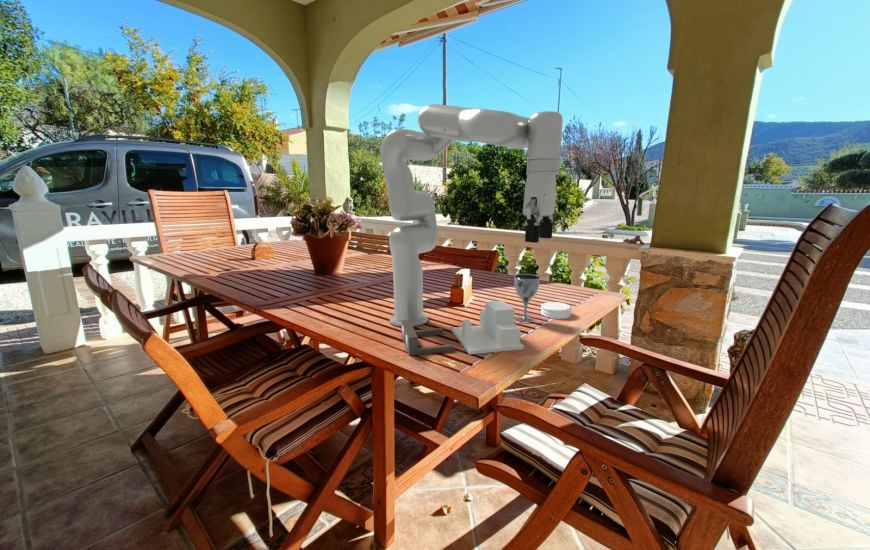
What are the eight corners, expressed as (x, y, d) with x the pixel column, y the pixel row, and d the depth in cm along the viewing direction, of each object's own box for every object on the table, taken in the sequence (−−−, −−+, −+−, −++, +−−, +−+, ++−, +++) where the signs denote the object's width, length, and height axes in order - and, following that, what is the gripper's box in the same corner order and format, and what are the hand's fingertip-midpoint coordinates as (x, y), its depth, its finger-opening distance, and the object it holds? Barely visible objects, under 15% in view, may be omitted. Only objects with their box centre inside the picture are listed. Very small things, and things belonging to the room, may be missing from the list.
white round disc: (570, 321, 128) (571, 311, 127) (539, 318, 131) (540, 308, 130) (570, 312, 137) (571, 302, 136) (541, 309, 140) (542, 300, 139)
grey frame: (442, 332, 117) (442, 317, 116) (454, 351, 104) (454, 333, 102) (401, 336, 114) (401, 320, 113) (408, 355, 101) (408, 337, 100)
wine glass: (529, 325, 123) (532, 280, 119) (508, 320, 128) (510, 276, 124) (541, 319, 128) (544, 276, 125) (520, 314, 134) (522, 272, 130)
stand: (498, 326, 122) (499, 296, 120) (523, 349, 105) (525, 314, 103) (451, 330, 118) (451, 299, 116) (469, 354, 101) (470, 318, 99)
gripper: (539, 170, 100) (536, 235, 104) (513, 167, 86) (510, 242, 90) (569, 169, 96) (564, 237, 100) (546, 165, 82) (541, 245, 86)
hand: (538, 240), depth 95 cm, fingers open, 9 cm apart
